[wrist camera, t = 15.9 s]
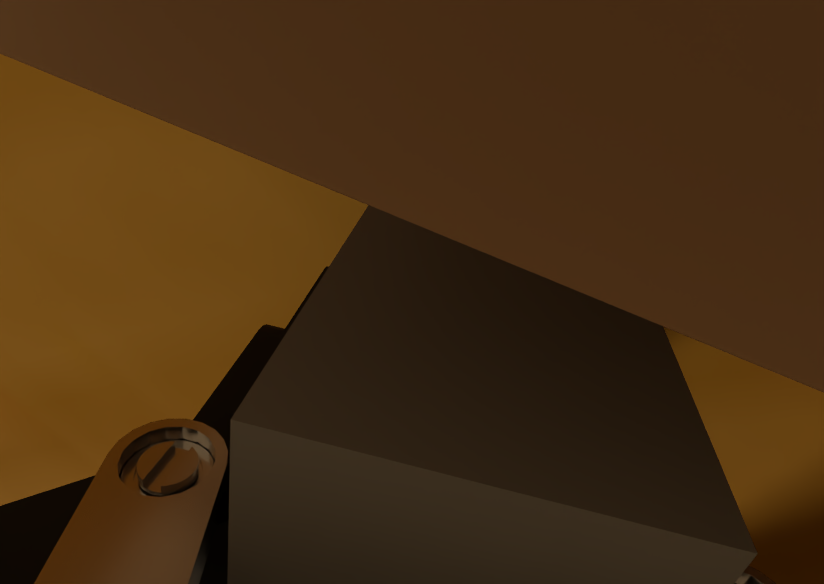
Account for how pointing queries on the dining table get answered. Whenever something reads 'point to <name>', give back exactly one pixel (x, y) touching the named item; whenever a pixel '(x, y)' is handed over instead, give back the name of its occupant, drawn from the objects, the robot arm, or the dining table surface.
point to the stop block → (472, 434)
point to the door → (516, 132)
